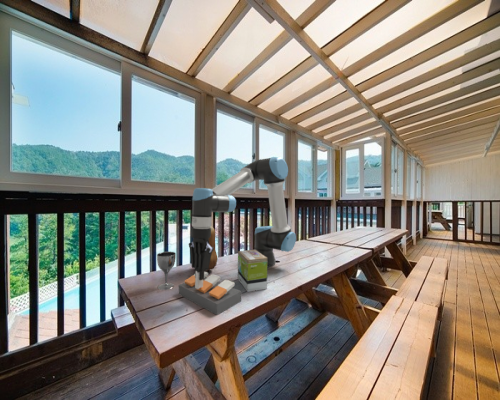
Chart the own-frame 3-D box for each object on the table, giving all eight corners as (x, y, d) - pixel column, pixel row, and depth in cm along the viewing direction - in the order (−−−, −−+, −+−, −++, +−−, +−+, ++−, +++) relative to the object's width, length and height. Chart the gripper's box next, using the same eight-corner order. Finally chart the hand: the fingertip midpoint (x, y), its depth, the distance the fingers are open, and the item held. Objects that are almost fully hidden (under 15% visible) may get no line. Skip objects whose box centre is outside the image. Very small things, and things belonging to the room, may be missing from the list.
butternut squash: (188, 275, 109) (188, 227, 109) (196, 266, 123) (197, 224, 122) (213, 276, 108) (214, 228, 108) (219, 267, 121) (220, 225, 121)
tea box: (236, 279, 105) (237, 250, 105) (255, 277, 109) (255, 248, 108) (246, 292, 91) (247, 259, 91) (267, 289, 94) (268, 257, 94)
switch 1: (201, 273, 96) (200, 269, 95) (208, 276, 92) (208, 272, 92) (185, 284, 89) (184, 280, 88) (192, 288, 86) (191, 284, 85)
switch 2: (226, 283, 86) (225, 279, 85) (235, 287, 82) (234, 282, 82) (209, 296, 79) (208, 292, 78) (218, 301, 76) (217, 296, 75)
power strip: (216, 278, 105) (216, 271, 105) (254, 293, 90) (254, 284, 90) (178, 294, 88) (178, 284, 88) (216, 315, 73) (217, 304, 73)
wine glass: (155, 291, 90) (155, 256, 90) (158, 283, 98) (158, 252, 98) (174, 289, 93) (174, 255, 92) (175, 282, 100) (176, 251, 100)
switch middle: (213, 277, 90) (212, 273, 90) (221, 280, 87) (220, 276, 87) (197, 291, 84) (195, 287, 83) (204, 295, 81) (203, 290, 80)
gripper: (183, 226, 83) (181, 285, 83) (204, 230, 75) (201, 295, 75) (198, 225, 89) (196, 280, 89) (219, 228, 81) (217, 289, 80)
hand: (199, 287), depth 82 cm, fingers closed
